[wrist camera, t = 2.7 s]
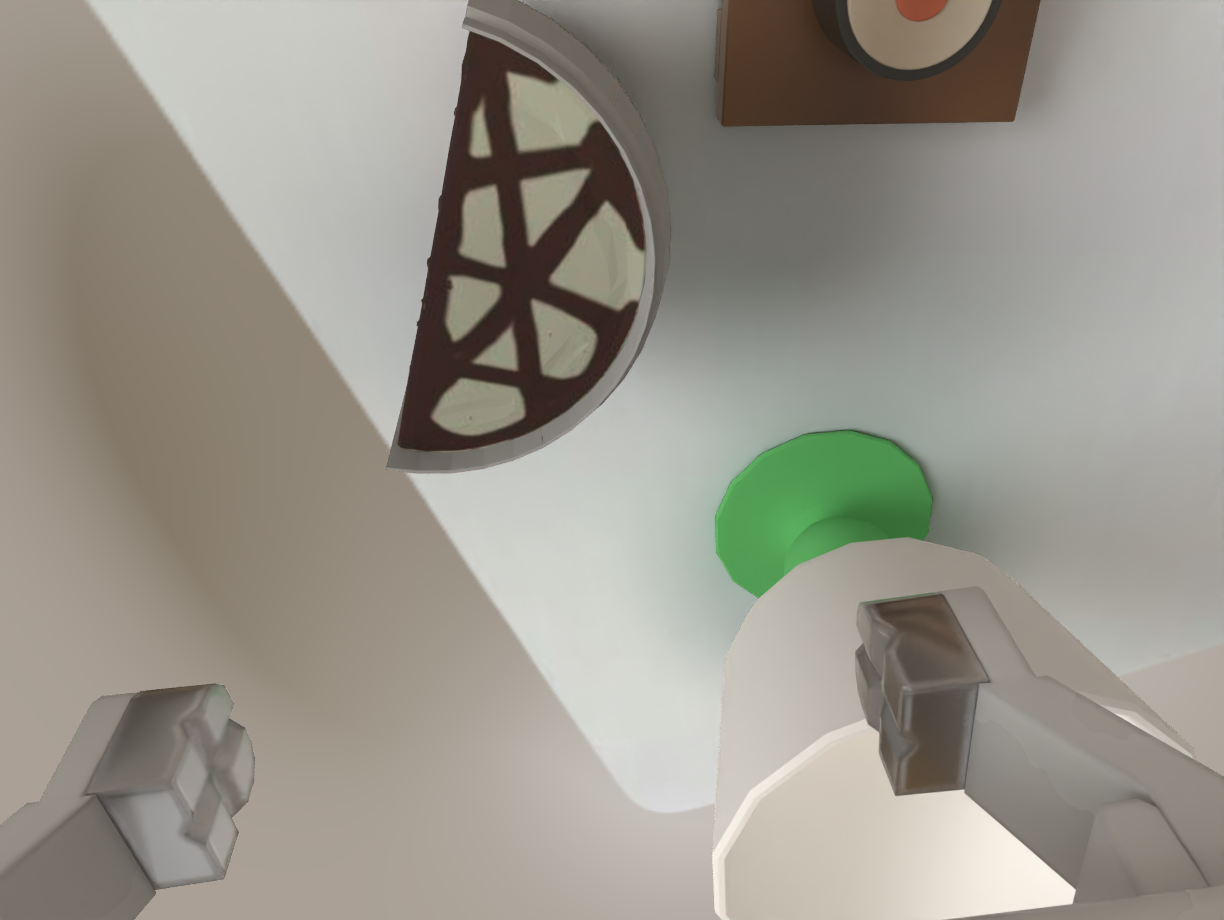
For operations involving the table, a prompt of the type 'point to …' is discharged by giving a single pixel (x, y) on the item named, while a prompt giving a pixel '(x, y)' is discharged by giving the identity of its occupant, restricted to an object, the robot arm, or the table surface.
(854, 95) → the sushi board
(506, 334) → the food container
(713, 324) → the table surface
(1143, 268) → the table surface
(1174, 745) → the cup
